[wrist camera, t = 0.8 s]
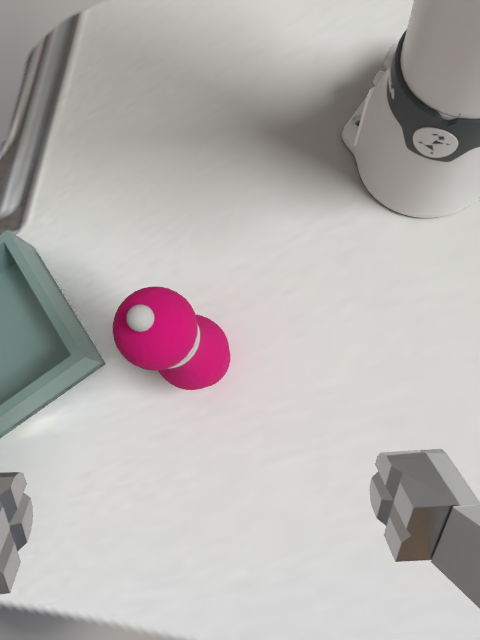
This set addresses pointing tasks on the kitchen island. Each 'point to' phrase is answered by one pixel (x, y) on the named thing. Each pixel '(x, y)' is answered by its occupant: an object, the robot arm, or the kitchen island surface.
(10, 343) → the tote
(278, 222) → the kitchen island surface
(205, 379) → the pepper mill
